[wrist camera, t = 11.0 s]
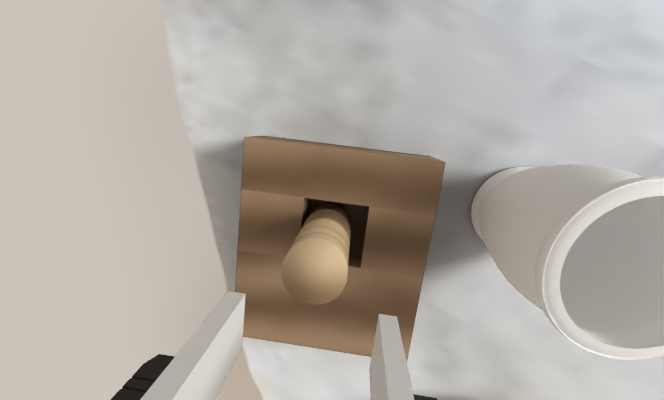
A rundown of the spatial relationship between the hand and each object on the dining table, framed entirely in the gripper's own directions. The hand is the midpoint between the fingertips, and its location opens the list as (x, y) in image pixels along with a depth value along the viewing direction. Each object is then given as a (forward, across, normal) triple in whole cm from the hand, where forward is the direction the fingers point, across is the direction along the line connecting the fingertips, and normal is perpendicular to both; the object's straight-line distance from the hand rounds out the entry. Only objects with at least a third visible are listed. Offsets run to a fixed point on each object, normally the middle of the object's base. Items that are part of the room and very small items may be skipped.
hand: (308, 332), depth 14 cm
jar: (+20, +17, +3) cm, 26 cm away
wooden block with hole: (+20, 0, -2) cm, 20 cm away
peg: (+18, 0, 0) cm, 18 cm away
